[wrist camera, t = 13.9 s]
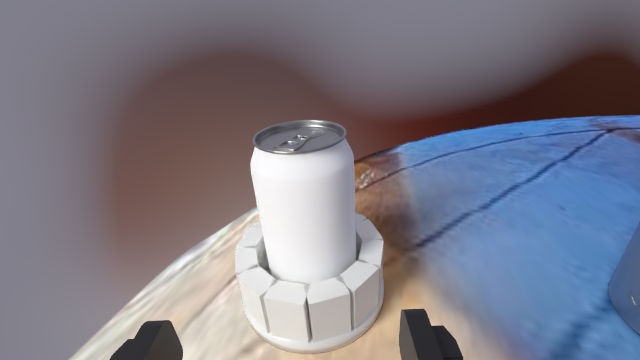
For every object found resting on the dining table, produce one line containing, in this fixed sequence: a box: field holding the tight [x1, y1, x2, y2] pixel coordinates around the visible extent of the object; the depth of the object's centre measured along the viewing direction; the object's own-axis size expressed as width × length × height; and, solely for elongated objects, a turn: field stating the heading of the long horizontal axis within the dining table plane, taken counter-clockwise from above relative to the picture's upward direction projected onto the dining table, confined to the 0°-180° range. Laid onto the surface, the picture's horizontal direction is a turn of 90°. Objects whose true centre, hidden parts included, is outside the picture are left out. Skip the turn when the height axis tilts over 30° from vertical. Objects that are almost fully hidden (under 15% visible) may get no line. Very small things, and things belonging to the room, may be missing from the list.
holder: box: [235, 212, 384, 354], centre depth 24 cm, size 11×11×4 cm
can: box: [251, 120, 356, 285], centre depth 21 cm, size 6×6×12 cm
